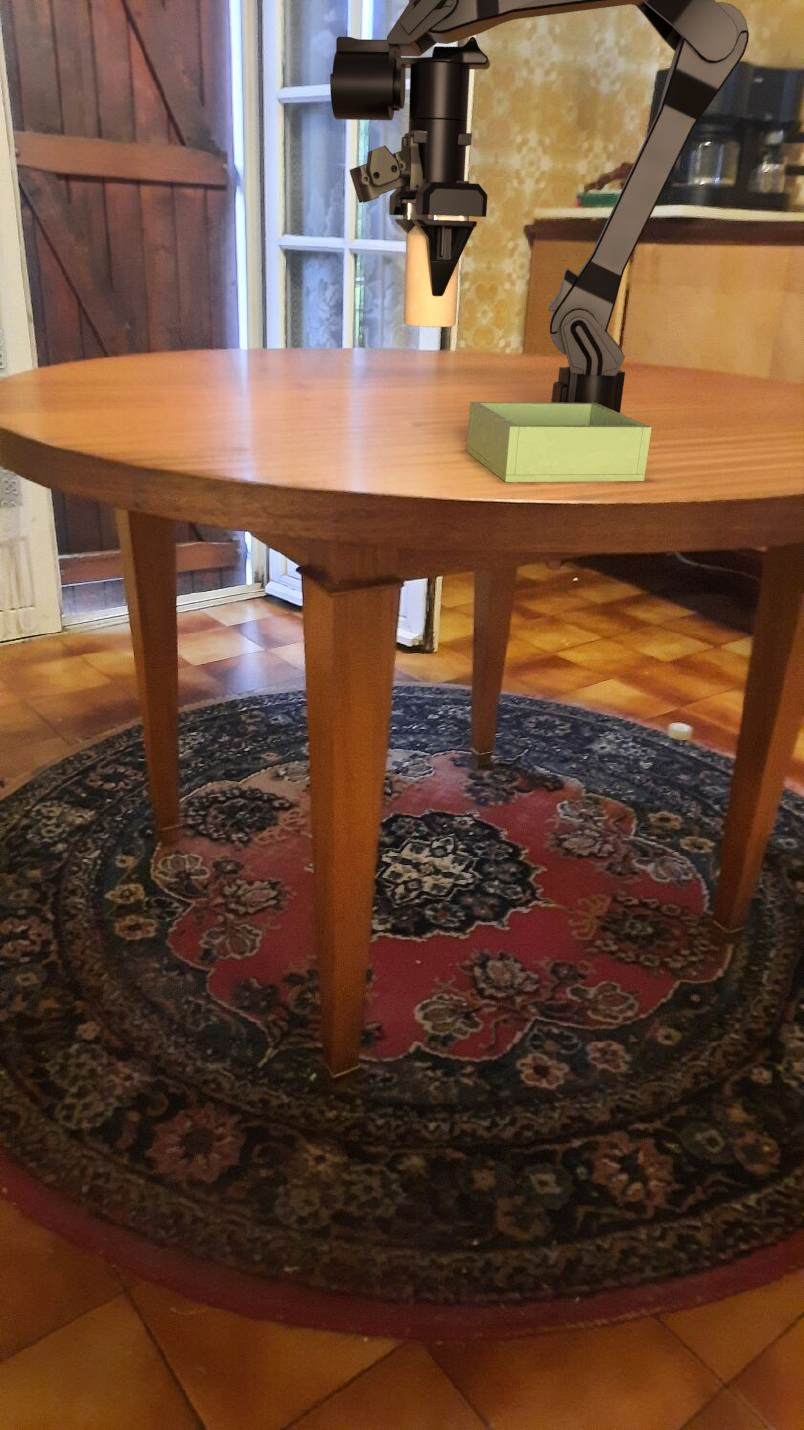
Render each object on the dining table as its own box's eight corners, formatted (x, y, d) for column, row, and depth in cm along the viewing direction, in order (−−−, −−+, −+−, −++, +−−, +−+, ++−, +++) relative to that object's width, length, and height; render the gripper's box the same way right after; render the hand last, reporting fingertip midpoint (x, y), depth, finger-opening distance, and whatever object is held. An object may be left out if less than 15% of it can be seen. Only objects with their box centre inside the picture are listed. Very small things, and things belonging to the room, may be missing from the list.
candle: (418, 327, 104) (422, 219, 100) (394, 322, 109) (397, 218, 104) (465, 327, 107) (470, 221, 102) (439, 322, 111) (444, 220, 107)
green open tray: (591, 451, 99) (596, 402, 97) (644, 481, 88) (652, 427, 86) (466, 451, 97) (469, 401, 95) (505, 482, 86) (510, 426, 84)
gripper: (343, 125, 106) (342, 287, 113) (372, 108, 90) (369, 299, 97) (447, 130, 108) (440, 289, 115) (493, 115, 92) (482, 301, 99)
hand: (431, 294), depth 106 cm, fingers closed on candle, 5 cm apart
